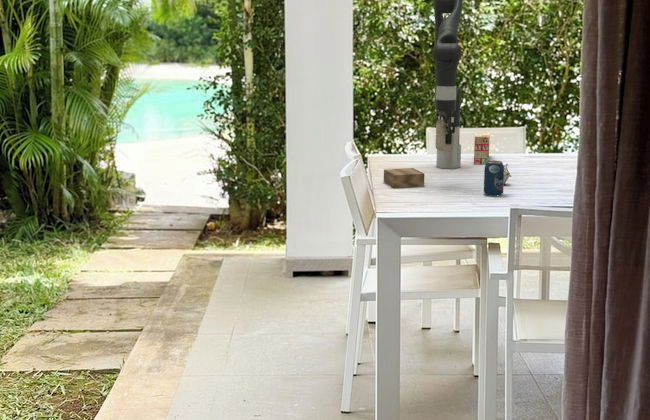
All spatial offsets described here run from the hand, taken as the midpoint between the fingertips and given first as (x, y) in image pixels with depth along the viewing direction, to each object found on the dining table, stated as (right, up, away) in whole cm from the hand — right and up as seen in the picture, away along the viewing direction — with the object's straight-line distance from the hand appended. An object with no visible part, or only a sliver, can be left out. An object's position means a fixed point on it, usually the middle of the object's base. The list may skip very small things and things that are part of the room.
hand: (444, 142), depth 359 cm
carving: (0, -3, +1) cm, 3 cm away
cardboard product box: (+23, -4, +58) cm, 63 cm away
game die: (+22, -16, +8) cm, 28 cm away
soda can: (+16, -20, -10) cm, 28 cm away
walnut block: (-15, -15, +8) cm, 23 cm away
